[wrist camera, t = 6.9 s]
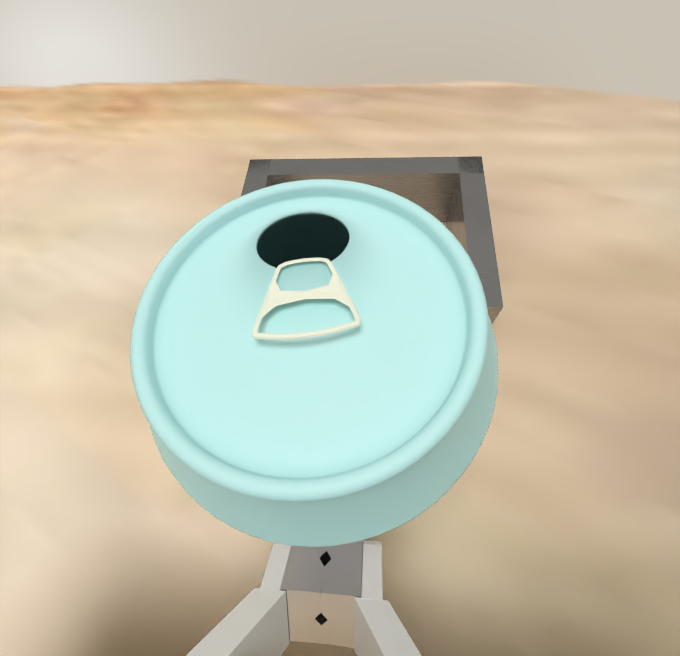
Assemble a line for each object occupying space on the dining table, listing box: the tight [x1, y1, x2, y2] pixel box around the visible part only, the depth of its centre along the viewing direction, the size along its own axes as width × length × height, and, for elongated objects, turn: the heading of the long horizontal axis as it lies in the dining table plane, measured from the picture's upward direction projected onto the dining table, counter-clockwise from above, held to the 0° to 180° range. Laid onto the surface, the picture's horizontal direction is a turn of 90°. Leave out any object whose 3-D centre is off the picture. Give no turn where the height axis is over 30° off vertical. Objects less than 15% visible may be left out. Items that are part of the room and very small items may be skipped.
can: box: [130, 179, 498, 547], centre depth 11 cm, size 7×7×12 cm
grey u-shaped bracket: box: [241, 157, 503, 324], centre depth 19 cm, size 9×12×4 cm
